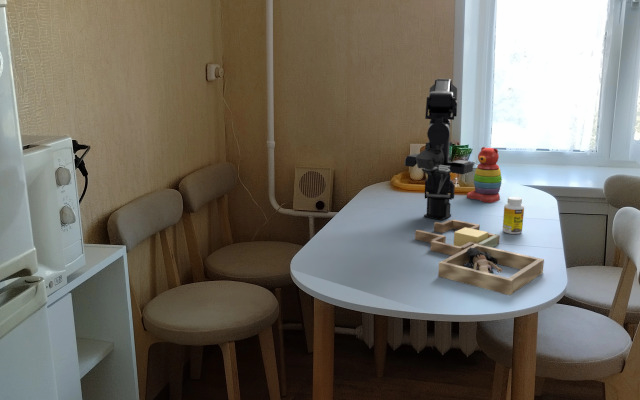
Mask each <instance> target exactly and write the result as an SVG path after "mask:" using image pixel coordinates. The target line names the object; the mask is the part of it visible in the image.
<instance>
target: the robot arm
mask: <svg viewBox="0 0 640 400" xmlns="http://www.w3.org/2000/svg"><path fill="white" fill-rule="evenodd" d="M457 97H458V88H457V87H456V86H455V85H454V84H453V80H452V79H450V78H437V79H434V83H433V85H431V86H430V87H429V92H428V96H426V103H425V118H424V119H425V120H430V121H429V125H428V126H429V127H428V129H427V134H426V135H427V138H428V139H427V140H428V142H425V148H424V150H422V151H420V153H413V154H409V155H407V156H406V157H405V158H404V166H405V167H410V168H414V167H416V165H417V168H418V169H420V170H421V172H424V173H426V175H427V178H426V179H425V181H424V199H426V214H423V217H425V218H429V219H434V220H440V221H441V220H442V221H443V220H445V219H447V218H450V217H452V214H451V203H450V200H451V201H452V200H454V199H455V190H456V189H455V187H456V186H455V183H454V181H453V180H451V178H452V174H455V175H456V174H458V175H465V174H467V173H471V172H473V171H474V170H473V169H474V165H473V163H472V161H471V160H464V159H458V160H455V161H452V156H451V155H450V147H451V146H453V141H450V140H451V121H454V120H455V117H457V112H458V111H457V110H458V98H457ZM451 173H452V174H451Z"/></svg>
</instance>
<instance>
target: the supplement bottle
mask: <svg viewBox="0 0 640 400" xmlns="http://www.w3.org/2000/svg"><path fill="white" fill-rule="evenodd" d="M522 203H523V198H522V197H519V196H509V197H507V200H506V203H505V204H504V206H503V217H502V218H503V219H502V231H503V232H504V233H506V234H509V235H518V234H521V233H522V232H523V227H524V224H523V223H524V214H525V206H524V204H522Z"/></svg>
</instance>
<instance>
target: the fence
mask: <svg viewBox="0 0 640 400" xmlns="http://www.w3.org/2000/svg"><path fill="white" fill-rule="evenodd" d="M470 247H471V248H477V249H478V250H479V251H480V252H487V253H489V254H491V257H495V258H497V262H498V263H497V264H496V265H501V266H504V267H510V268H513V269H517V270H518V269H519V271H517V272H515V273H514V274H513V275H511V276H509V277H505V276H502V275H499V274H498V275H497V274H496V273H495V274H494V273H493V274H492V273H487V272H483V271H479V269H476V270H475V269H473V268H472V267H471V268H470V267H466V266H467V264H469V261H468V260H469V258H468V256H467V252H466V251H467V250H468V249H469V248H470ZM470 247H468V248H466V249H464V250H462V251H461V252H459V253H457V254H455V255H453V256H452V255H450V256H449V257H448V258H447V257H446V258H445V259H443V260H442V261H439V262H438V274H437V275H438V276H437V277H440V278H443V279H447V280H451V281H454V282H458V283H462V284H466V285H468V286H473V287H478V288H481V289H485V290H489V291H491V292H496V293H500V294H504V295H508V296H512V295H513V294H514V293H516V292H518V291H519V290H520V289H521V288H523V287H524V286H526V285H527V284H529V283H531V282H532V281H533V280H535V279H536V278H538V277H539V276H541V275H542V274H543V273H544V264H545V259H543V258H540V257H535V256H531V255H526V254H522V253H519V252H518V253H517V252H513V251H508V250H505V249H504V250H503V249H500V248H495V247H492V248H491V247H487V246H482V245H478V244H474V245H472V246H470Z"/></svg>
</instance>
